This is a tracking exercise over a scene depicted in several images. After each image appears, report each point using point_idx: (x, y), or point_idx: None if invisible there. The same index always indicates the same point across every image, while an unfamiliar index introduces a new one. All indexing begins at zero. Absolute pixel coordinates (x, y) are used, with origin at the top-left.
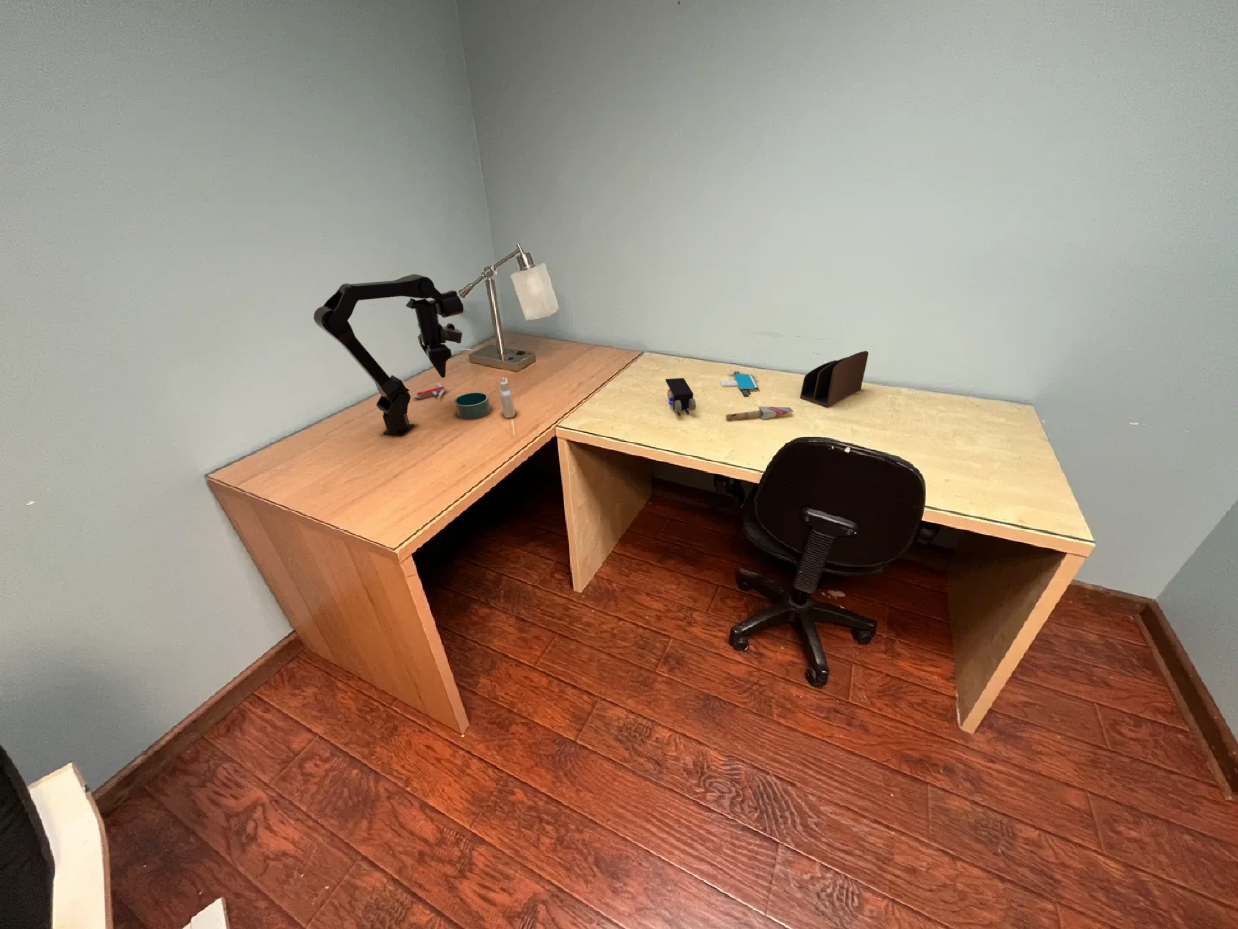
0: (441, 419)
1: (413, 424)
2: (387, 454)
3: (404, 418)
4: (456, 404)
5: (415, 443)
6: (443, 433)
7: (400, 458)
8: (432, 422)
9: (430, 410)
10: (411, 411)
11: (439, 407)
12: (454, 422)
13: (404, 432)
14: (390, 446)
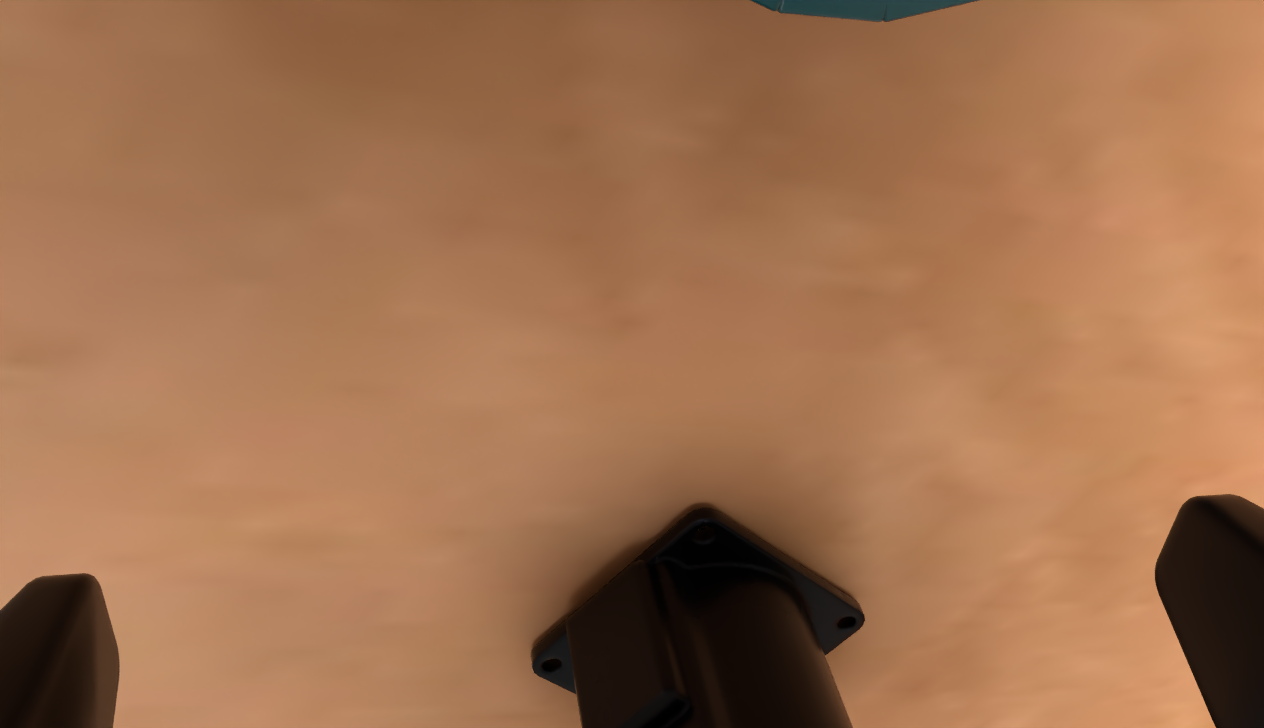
0: (725, 194)
1: (701, 521)
2: (1097, 698)
3: (820, 689)
4: (940, 7)
5: (1106, 515)
6: (1144, 244)
7: None
8: (737, 313)
9: (291, 283)
10: (194, 502)
11: (232, 141)
12: (960, 46)
13: (838, 602)
14: (977, 683)
